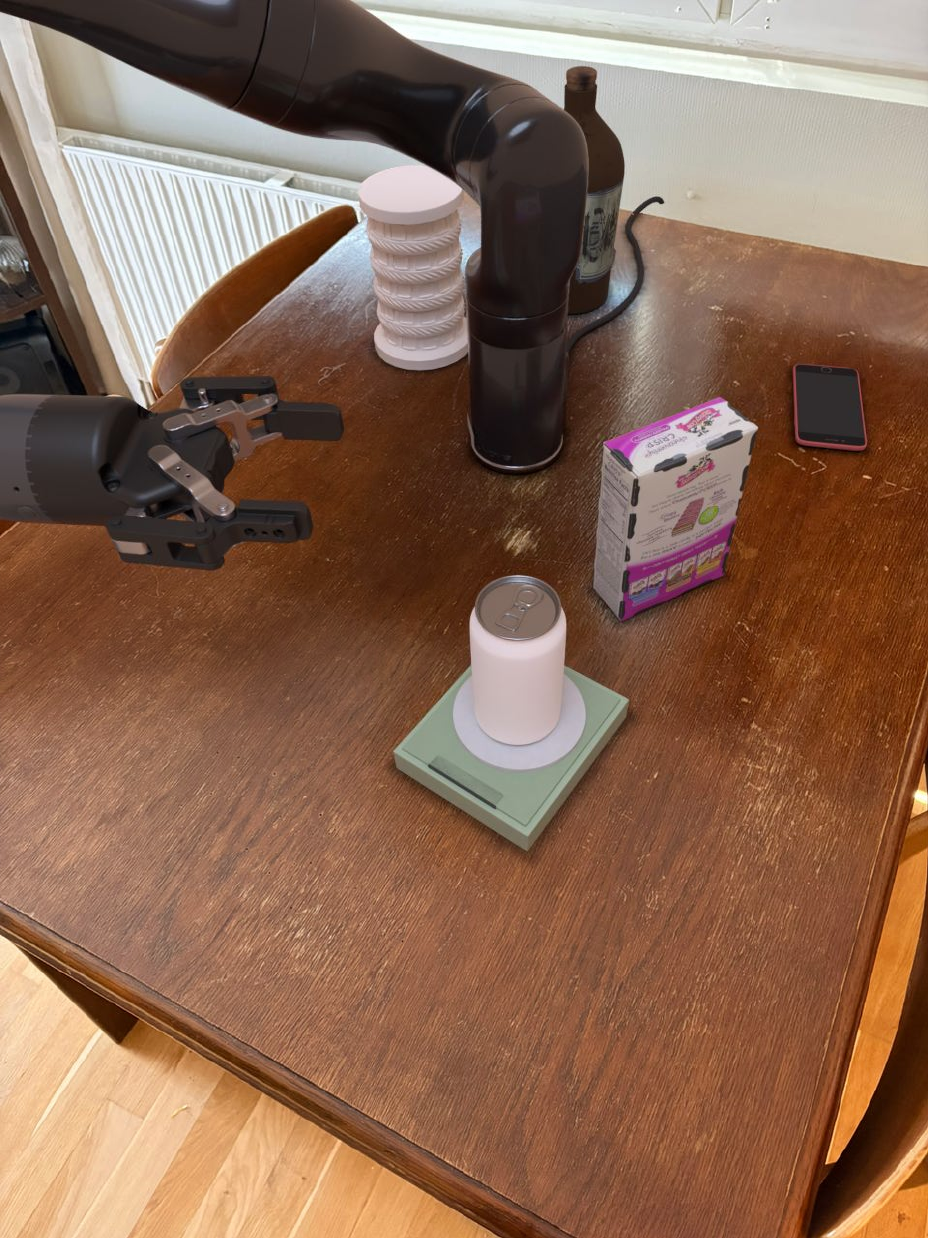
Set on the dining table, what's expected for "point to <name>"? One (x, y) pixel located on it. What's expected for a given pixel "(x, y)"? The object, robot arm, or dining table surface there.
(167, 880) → the dining table surface
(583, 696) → the scale
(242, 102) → the robot arm
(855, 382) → the smartphone
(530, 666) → the can
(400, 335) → the decorative container
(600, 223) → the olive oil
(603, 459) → the candy bar box
